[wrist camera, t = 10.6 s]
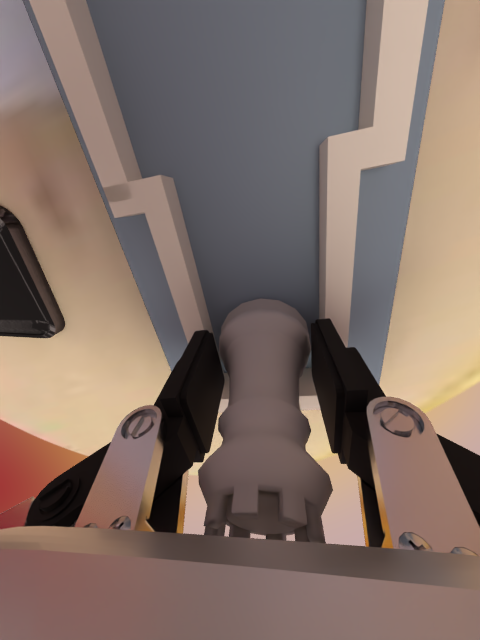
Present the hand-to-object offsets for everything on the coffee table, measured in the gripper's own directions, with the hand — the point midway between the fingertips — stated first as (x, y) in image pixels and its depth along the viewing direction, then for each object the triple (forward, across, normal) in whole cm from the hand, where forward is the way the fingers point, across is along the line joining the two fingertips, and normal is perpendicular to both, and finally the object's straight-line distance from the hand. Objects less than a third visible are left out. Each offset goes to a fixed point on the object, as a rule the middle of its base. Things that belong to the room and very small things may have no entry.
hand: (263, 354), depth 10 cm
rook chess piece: (+2, 0, 0) cm, 2 cm away
